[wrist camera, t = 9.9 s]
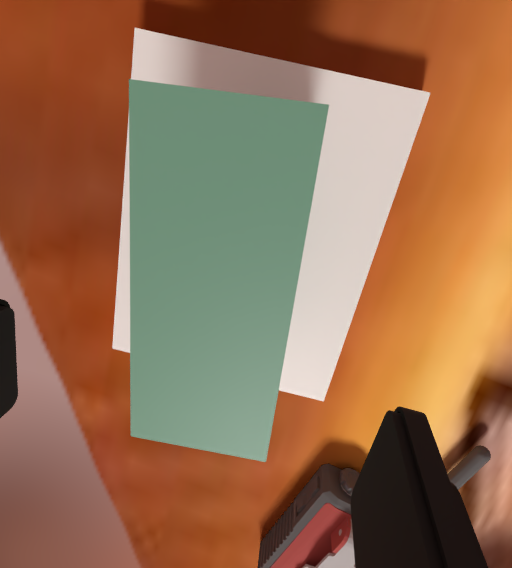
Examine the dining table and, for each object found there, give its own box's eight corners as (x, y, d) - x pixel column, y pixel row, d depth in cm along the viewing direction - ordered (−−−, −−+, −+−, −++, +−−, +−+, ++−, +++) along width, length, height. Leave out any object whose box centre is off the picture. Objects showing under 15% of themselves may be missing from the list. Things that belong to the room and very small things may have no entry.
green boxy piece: (324, 109, 15) (329, 104, 11) (273, 401, 20) (265, 461, 17) (172, 89, 15) (129, 78, 12) (162, 380, 21) (130, 435, 17)
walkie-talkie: (338, 589, 34) (492, 440, 27) (342, 652, 30) (525, 498, 22) (249, 548, 34) (379, 384, 26) (241, 606, 30) (393, 432, 22)
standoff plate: (421, 95, 19) (462, 84, 14) (322, 386, 26) (326, 449, 21) (146, 34, 20) (90, 3, 15) (122, 336, 27) (78, 386, 22)
